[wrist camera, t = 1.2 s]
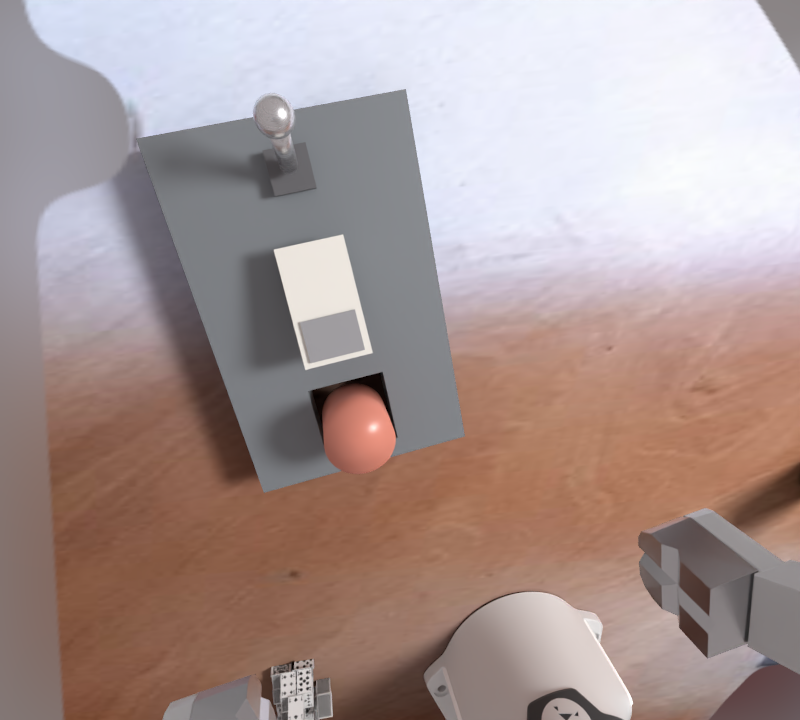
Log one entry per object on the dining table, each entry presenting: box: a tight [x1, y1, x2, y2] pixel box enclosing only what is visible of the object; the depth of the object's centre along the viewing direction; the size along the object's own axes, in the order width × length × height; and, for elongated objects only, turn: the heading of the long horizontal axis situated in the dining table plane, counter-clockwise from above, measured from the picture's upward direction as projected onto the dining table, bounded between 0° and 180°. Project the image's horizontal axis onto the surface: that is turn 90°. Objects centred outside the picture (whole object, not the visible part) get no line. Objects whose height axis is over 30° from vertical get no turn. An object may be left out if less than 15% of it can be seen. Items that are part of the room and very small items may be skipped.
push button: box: [322, 383, 396, 474], centre depth 30 cm, size 4×4×4 cm
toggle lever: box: [253, 93, 298, 174], centre depth 22 cm, size 2×2×6 cm
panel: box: [136, 89, 465, 493], centre depth 30 cm, size 23×15×4 cm, turn 11°
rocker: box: [274, 235, 373, 370], centre depth 26 cm, size 7×4×1 cm, turn 11°
